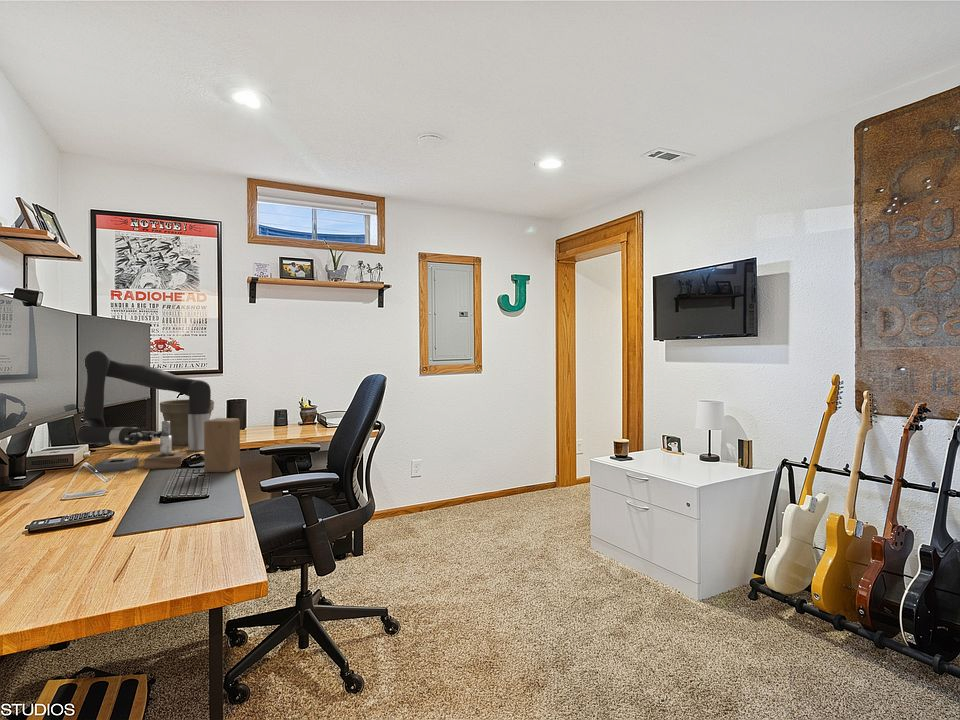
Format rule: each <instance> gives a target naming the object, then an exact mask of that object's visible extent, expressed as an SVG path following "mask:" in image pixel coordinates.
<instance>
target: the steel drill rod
mask: <svg viewBox="0 0 960 720" xmlns="http://www.w3.org/2000/svg"><path fill="white" fill-rule="evenodd" d="M161 431H162V436H160V438H159V439H160V440H159V441H160V443H159V444H160V447H159V448H160V449H159V450H160V457H166V456H172V453H173V452H172V446H173V444H172V435H170V421H161Z"/></svg>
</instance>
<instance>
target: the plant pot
mask: <svg viewBox="0 0 960 720" xmlns="http://www.w3.org/2000/svg"><path fill="white" fill-rule="evenodd" d="M188 408H189V398H188V399H172V400H171V399H170V400H165V401H160V402H159V411H160V413H162V417H163V420H164V421H170V435H172V445H174V446H188ZM214 408H215V401H214V399H213V400H211V405H210V417H211V415H212V411H213V410H214Z"/></svg>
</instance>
